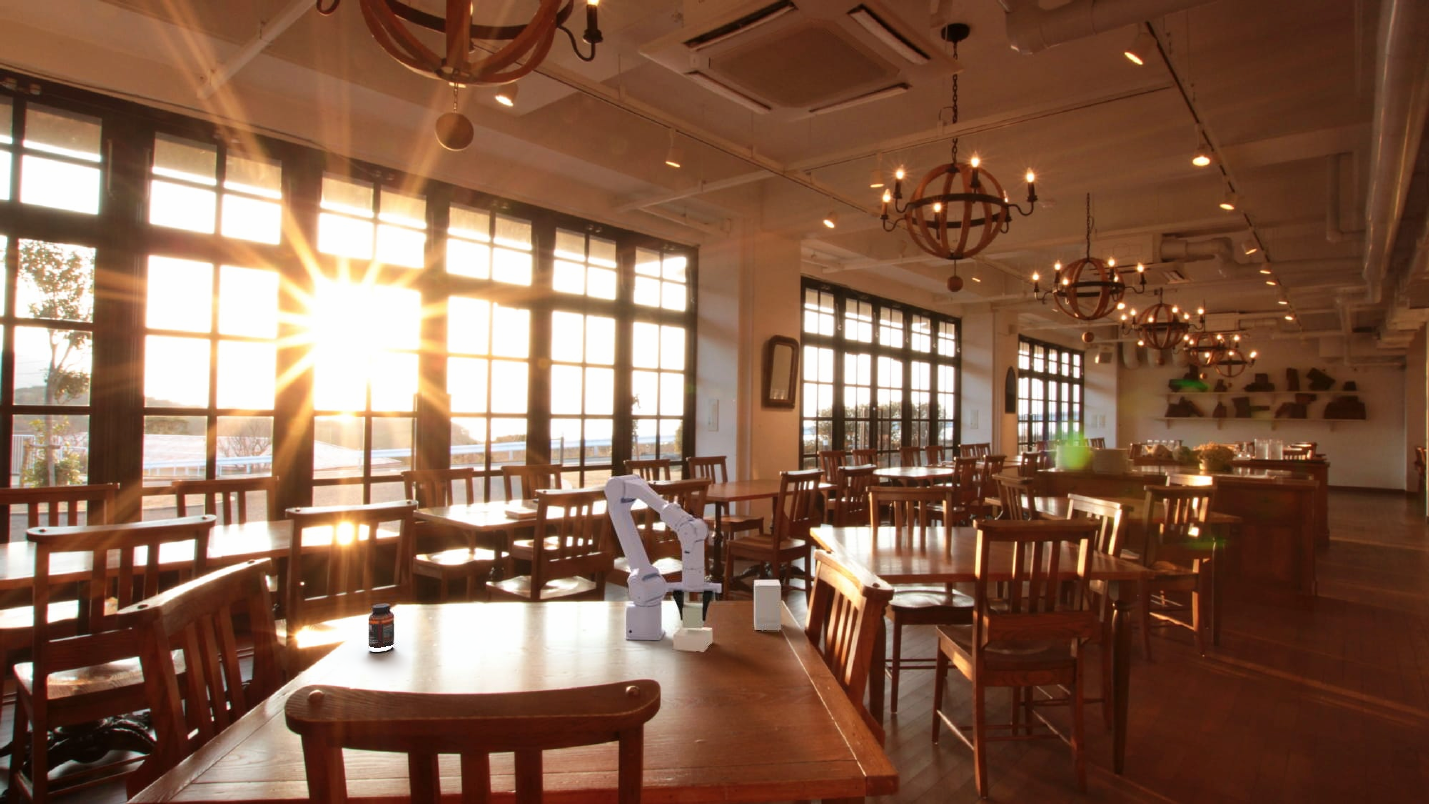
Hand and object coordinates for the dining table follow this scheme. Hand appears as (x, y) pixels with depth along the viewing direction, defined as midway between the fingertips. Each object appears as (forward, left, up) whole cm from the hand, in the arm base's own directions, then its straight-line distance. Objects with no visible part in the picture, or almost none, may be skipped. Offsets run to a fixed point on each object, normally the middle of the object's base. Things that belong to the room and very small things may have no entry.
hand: (693, 619), depth 185 cm
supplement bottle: (-79, -9, -7) cm, 80 cm away
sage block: (0, 0, -1) cm, 1 cm away
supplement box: (+19, +17, -7) cm, 26 cm away
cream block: (0, 0, -7) cm, 7 cm away
